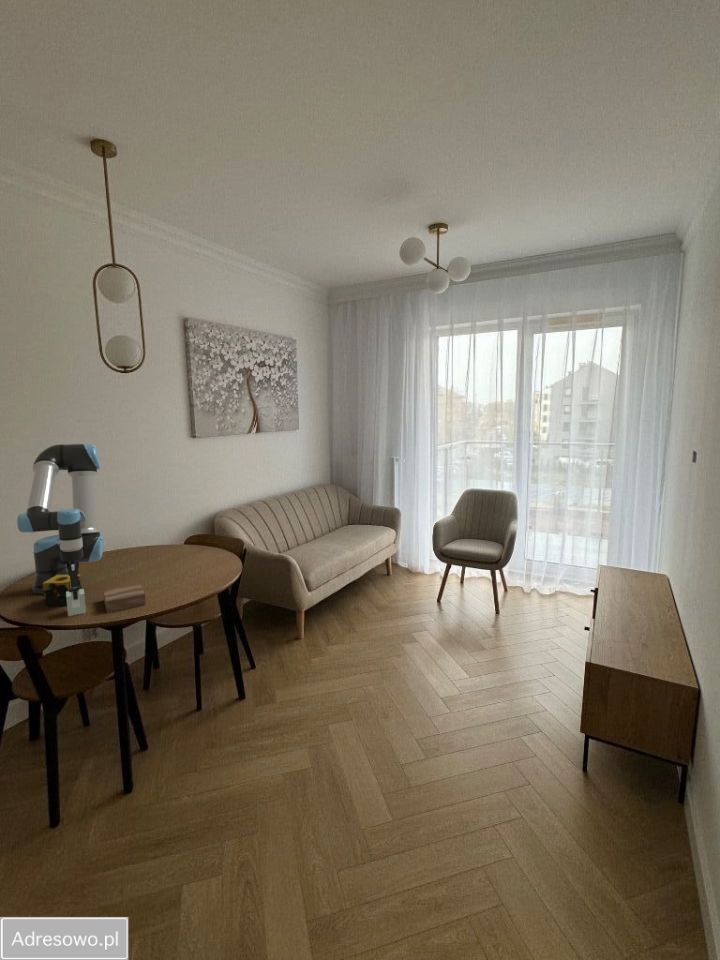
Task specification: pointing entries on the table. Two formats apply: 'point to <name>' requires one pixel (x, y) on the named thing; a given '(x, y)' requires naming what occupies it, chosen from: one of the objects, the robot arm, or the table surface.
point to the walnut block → (124, 597)
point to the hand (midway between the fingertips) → (75, 601)
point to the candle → (57, 589)
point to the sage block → (78, 609)
